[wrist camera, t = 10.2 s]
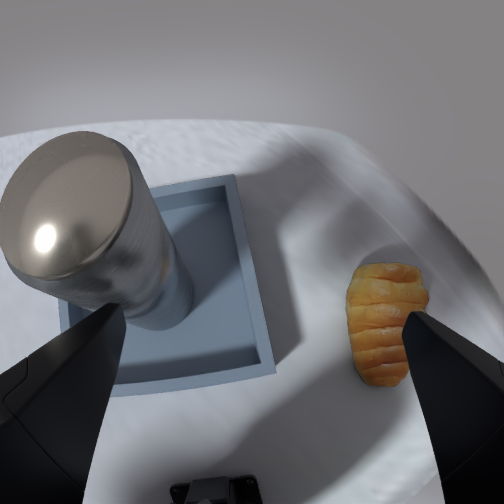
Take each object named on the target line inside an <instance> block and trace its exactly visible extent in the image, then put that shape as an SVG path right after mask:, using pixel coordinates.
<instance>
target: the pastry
mask: <svg viewBox="0 0 504 504" xmlns="http://www.w3.org/2000/svg"><path fill="white" fill-rule="evenodd" d="M428 301H429V296H428V292H427V290H426V289H425V288H424V287H423V279H422V276H421V271H420V270H419V269H418V268H417V267H413V266H410V265H406V264H401V263H390V264H386V263H374V264H367V265H362V266H359V267H358V268H357V269H356V270H355V272H354V274H353V277H352V280H351V283H350V285H349V288H348V290H347V295H346V314H347V324H348V332H349V337H350V343H351V348H352V354H353V359H354V364H355V367H356V369H357V371H358V373H359V375H360V377H361V378H362V379H363V380H364V381H365V382H366V383H367V384H368V385H371V386H377V387H381V386H385V387H395V386H397V385H398V384H399V382H400V381H401V380H402V379H403V378H405V377H406V375H407V373H408V371H409V366H408V361H407V357H406V353H405V349H404V345H403V341H402V329H403V327H404V325H405V322H406V320H407V317H408V315H409V313H410V312H412V311H423V312H424V313H426V311H425V310H424V308H425V306H426V305H427V304H428ZM426 314H427V313H426Z"/></svg>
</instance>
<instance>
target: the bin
mask: <svg viewBox="0 0 504 504" xmlns="http://www.w3.org/2000/svg"><path fill="white" fill-rule="evenodd" d="M149 190H150V192H151V195H152V197H153V199H154V201H155V203H156V205H157V208H158V210H159V212H160V214H161V216H162V218H163V220H164V222H165V224H166V227H167V229H168V231H169V233H170V235H171V237H172V239H173V241H174V243H175V245H176V247H177V249H178V251H179V253H180V255H181V257H182V259H183V261H184V263H185V265H186V267H187V269H188V271H189V273H190V275H191V277H192V280H193V283H194V289H195V295H194V302H193V305H192V307H191V310H190V312H189V313H188V315H187V316H186V317H185V319H184V320H183V321H181V322H180V323H179V324H178V325H176V326H174V327H173V328H170V329H167V330H163V331H151V330H146V329H143V328H140V327H137V326H134V325H131V324H128V323H126V327H127V328H126V335H125V340H124V344H123V349H122V353H121V358H120V363H119V368H118V372H117V376H116V379H115V382H114V385H113V389H112V392H111V395H110V397H122V396H134V395H145V394H154V393H163V392H171V391H179V390H187V389H194V388H200V387H207V386H213V385H219V384H225V383H230V382H236V381H241V380H246V379H251V378H256V377H261V376H265V375H270V374H275V373H277V372H276V367H275V363H274V358H273V354H272V349H271V344H270V340H269V335H268V330H267V326H266V321H265V316H264V312H263V307H262V302H261V297H260V293H259V288H258V283H257V279H256V274H255V269H254V265H253V260H252V255H251V251H250V246H249V241H248V237H247V232H246V227H245V223H244V218H243V213H242V209H241V204H240V199H239V194H238V190H237V185H236V180H235V176H234V174H232V175H225V176H219V177H213V178H207V179H201V180H195V181H189V182H184V183H178V184H173V185H167V186H162V187H157V188H152V189H149ZM58 304H59V317H60V328H61V333H63V332H64V331H66V330H67V329H69V328H70V327H72V326H73V325H75V324H76V323H78V322H79V321H81V320H82V319H84V318H85V317H87V316H88V315H90V314H91V313H93V311H90V310H88V309H85V308H82V307H80V306H77V305H74V304H72V303H69V302H67V301H64V300H61V299H59V298H58Z"/></svg>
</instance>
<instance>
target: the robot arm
mask: <svg viewBox="0 0 504 504" xmlns="http://www.w3.org/2000/svg"><path fill="white" fill-rule="evenodd" d="M126 328H127V327H126V321H125V316H124V312H123V307H122V305H121V304H120V303H112V302H109V303H107V304H105V305H103V306H102V307H100V308H99V309H97V310H96V311H94V312H93V313H91V314H90V315H88V316H87V317H85V318H84V319H82V320H81V321H79V322H78V323H76V324H75V325H73V326H72V327H70V328H69V329H67V330H66V331H64V332H63V333H61V334H60V335H58V336H57V337H55V338H54V339H52V340H51V341H49V342H48V343H46V344H45V345H43V346H42V347H40V348H39V349H37V350H36V351H35V352H33V353H32V354H30V355H29V356H28V357H26V358H24V359H23V360H21V361H20V362H19V363H17V364H16V365H14V366H13V367H11V368H10V369H8V370H7V371H5V372H3V373H2V374H0V504H82V502H83V497H84V493H85V492H84V491H85V488H86V483H87V479H88V475H89V470H90V466H91V462H92V458H93V454H94V451H95V447H96V443H97V439H98V436H99V432H100V429H101V425H102V422H103V418H104V415H105V411H106V408H107V405H108V401H109V398H110V395H111V392H112V389H113V385H114V382H115V379H116V376H117V372H118V368H119V363H120V358H121V353H122V349H123V344H124V340H125V335H126ZM402 341H403V345H404V349H405V353H406V357H407V361H408V366H409V370H410V374H411V377H412V381H413V384H414V387H415V390H416V393H417V396H418V399H419V402H420V405H421V409H422V412H423V415H424V419H425V422H426V425H427V429H428V432H429V436H430V440H431V443H432V447H433V451H434V455H435V459H436V463H437V467H438V471H439V475H440V480H441V485H442V490H443V494H444V500H445V504H504V363H503V362H501V361H500V360H499V361H498V359H496V358H495V357H493V356H492V355H490V354H489V353H487V352H486V351H484V350H483V349H481V348H480V347H478V346H477V345H475V344H473V343H472V342H470V341H469V340H467V339H466V338H464V337H463V336H461V335H459V334H458V333H456V332H455V331H453V330H452V329H450V328H448V327H447V326H445V325H444V324H442V323H440V322H439V321H437V320H436V319H434V318H432V317H431V316H429V315H428V314H426V313H424V312H423V311H412V312H410V313H409V315H408V317H407V320H406V322H405V325H404V327H403V329H402ZM247 480H253V482H252V483H247ZM174 489H178V490H179V491H180V492H176V491H174ZM170 494H171V497H172V500H173V503H170V504H263V502H262V499H261V495H260V491H259V487H258V483H257V479H256V477H254V476H253V475H246V476H240V477H234V478H228V477H226V476H224V477H217V478H209V479H200V480H193V481H192V482H191V483H183V484H173V485H172V486H171V488H170Z"/></svg>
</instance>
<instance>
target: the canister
mask: <svg viewBox="0 0 504 504" xmlns="http://www.w3.org/2000/svg"><path fill="white" fill-rule="evenodd" d="M0 246H1V249H2V251H3V253H4V256H5V259H6V261H7V263H8V265H9V267H10V269H11V270H12V272H13V273H14V274H15V275H16V276H17V277H18V278H19V279H20V280H21V281H22V282H24V283H25V284H27V285H29V286H31V287H33V288H35V289H37V290H40V291H42V292H44V293H47V294H49V295H52V296H54V297H56V298H59V299H61V300H64V301H67V302H69V303H72V304H74V305H77V306H80V307H82V308H85V309H88V310H90V311H93V312H94V311H96V310H97V309H99V308H100V307H102V306H103V305H105V304H107V303H109V302H112V303H120V304H121V305H122V307H123V312H124V316H125V321H126V323H128V324H131V325H134V326H137V327H140V328H143V329H146V330H151V331H163V330H167V329H170V328H173V327H174V326H176V325H178V324H179V323H180V322H181V321H183V320H184V319H185V317H186V316H187V315H188V313H189V312H190V310H191V307H192V305H193V302H194V295H195V289H194V283H193V280H192V277H191V275H190V273H189V271H188V269H187V267H186V265H185V263H184V261H183V259H182V257H181V255H180V253H179V251H178V249H177V247H176V245H175V243H174V241H173V239H172V237H171V235H170V233H169V231H168V229H167V227H166V224H165V222H164V220H163V218H162V216H161V214H160V212H159V210H158V208H157V205H156V203H155V201H154V199H153V197H152V195H151V192H150V190H149V188H148V186H147V184H146V181H145V179H144V177H143V175H142V172H141V170H140V168H139V166H138V163H137V161H136V159H135V158H134V156H133V155H132V153H131V152H130V151H129V150H128V149H127V148H126V147H125V146H124V145H122V144H121V143H120V142H118V141H116V140H114V139H112V138H108V137H106V136H104V135H102V134H98V133H95V132H89V131H78V132H71V133H67V134H63V135H61V136H58V137H56V138H54V139H52V140H50V141H48V142H46V143H44V144H43V145H41V146H40V147H39V148H37V149H36V150H35V151H33V152H32V153H31V154H30V155H29V156H28V157H27V158H26V159H25V160H24V161H23V162H22V163H21V165H20V166H19V167H18V168H17V170H16V171H15V172H14V174H13V176H12V177H11V179H10V181H9V182H8V184H7V186H6V188H5V191H4V193H3V196H2V199H1V202H0Z"/></svg>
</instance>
